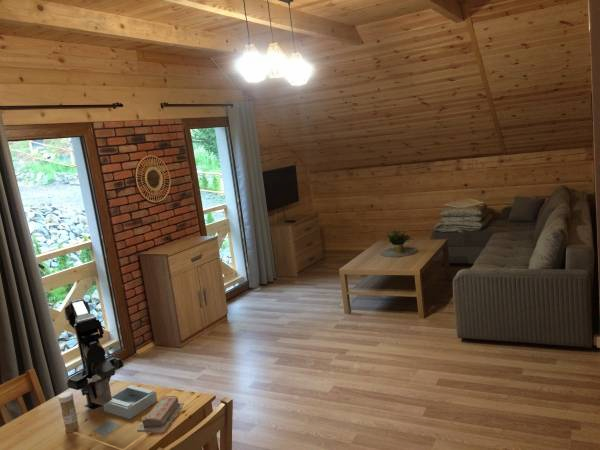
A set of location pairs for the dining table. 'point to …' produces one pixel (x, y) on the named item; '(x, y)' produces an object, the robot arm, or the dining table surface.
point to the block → (101, 391)
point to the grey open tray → (130, 401)
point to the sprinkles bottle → (68, 411)
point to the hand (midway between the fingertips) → (100, 395)
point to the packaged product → (161, 415)
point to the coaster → (106, 428)
